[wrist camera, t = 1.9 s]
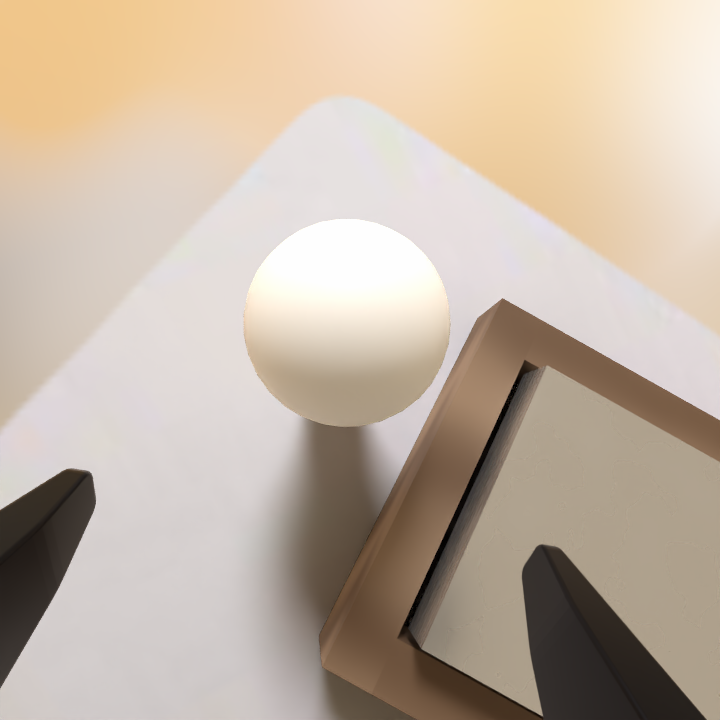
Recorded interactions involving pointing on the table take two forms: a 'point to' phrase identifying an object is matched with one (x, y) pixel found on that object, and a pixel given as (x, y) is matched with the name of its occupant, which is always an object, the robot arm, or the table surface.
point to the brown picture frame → (441, 497)
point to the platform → (582, 540)
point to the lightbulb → (347, 323)
